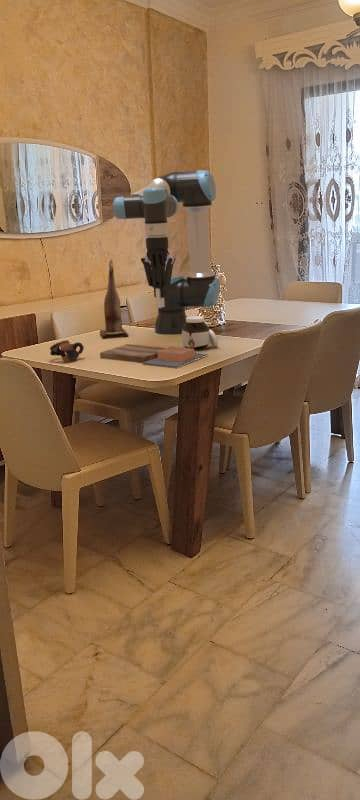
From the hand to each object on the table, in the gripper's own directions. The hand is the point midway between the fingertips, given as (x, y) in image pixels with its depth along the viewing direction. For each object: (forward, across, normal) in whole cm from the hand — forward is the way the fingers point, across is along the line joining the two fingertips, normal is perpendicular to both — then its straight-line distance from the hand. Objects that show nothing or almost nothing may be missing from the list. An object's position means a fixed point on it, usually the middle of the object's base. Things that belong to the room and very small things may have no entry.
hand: (160, 307), depth 219 cm
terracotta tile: (+18, +6, 0) cm, 19 cm away
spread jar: (+19, +3, +21) cm, 28 cm away
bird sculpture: (+19, -45, +28) cm, 56 cm away
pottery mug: (+19, -31, -16) cm, 39 cm away
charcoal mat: (+18, +6, 0) cm, 19 cm away
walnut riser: (+18, -12, 0) cm, 22 cm away
